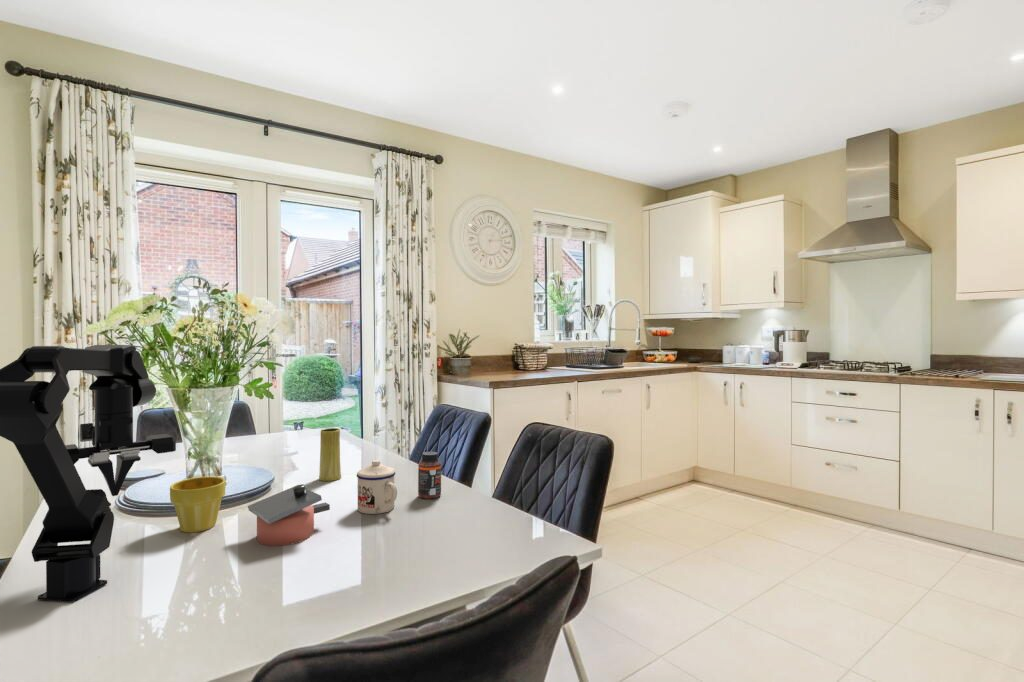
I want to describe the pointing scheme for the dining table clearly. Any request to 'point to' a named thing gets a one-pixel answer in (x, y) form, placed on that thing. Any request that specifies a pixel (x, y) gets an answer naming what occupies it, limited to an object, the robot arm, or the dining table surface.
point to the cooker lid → (284, 503)
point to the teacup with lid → (376, 489)
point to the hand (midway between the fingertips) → (114, 495)
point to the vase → (330, 455)
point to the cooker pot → (289, 527)
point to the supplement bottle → (429, 476)
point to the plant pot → (197, 502)
